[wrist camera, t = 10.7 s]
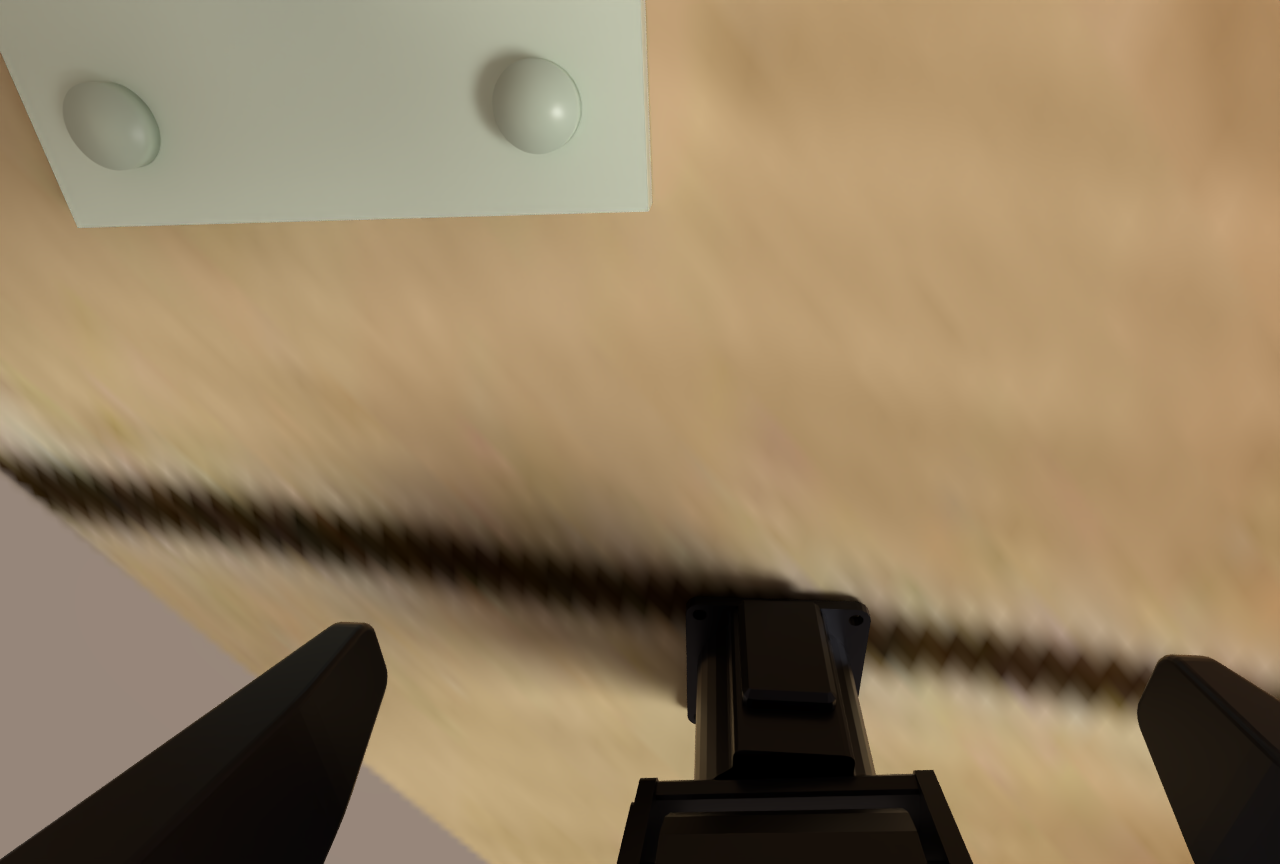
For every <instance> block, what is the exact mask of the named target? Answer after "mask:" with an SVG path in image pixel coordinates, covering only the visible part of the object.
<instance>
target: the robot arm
mask: <svg viewBox="0 0 1280 864" xmlns="http://www.w3.org/2000/svg"><path fill="white" fill-rule="evenodd" d="M696 610H704V612H696ZM854 615H859V616H858V617H855V618H852V616H854ZM870 622H871V620H870V614H869V611H868V608H867V607H866V606H865V605H864V604H862V603H859V602H845V601H815V600H784V599H754V598H723V597H694V598H692V599H690V600H689V601H688V602H687V606H686V649H687V710H688V719H689V720H690V721H691V722H692V723H694V724H696V735H695V772H694V780H675V781H658V778H640V780H639V785H638V789H637V793H636V797H635V802H632V803H631V806H630V810H629V814H628V818H627V822H626V827H625V831H624V835H623V839H622V843H621V848H620V852H619V856H618V860H617V864H973V862H972V860H971V857H970V855H969V853H968V850H967V848H966V846H965V843H964V841H963V839H962V836H961V834H960V832H959V829H958V827H957V825H956V822H955V820H954V818H953V815H952V813H951V811H950V808H949V806H948V804H947V801H946V799H945V797H944V794H943V792H942V789H941V787H940V785H939V782H938V780H937V778H936V775H935V773H934V771H933V770H915V771H913V774H892V775H876V773H875V769H874V764H873V760H872V756H871V751H870V747H869V743H868V738H867V734H866V729H865V725H864V721H863V716H862V712H861V708H860V703H859V699H858V696H859V689H860V683H861V677H862V671H863V665H864V659H865V653H866V646H867V640H868V634H869V628H870ZM386 685H387V668H386V665H385V661H384V658H383V655H382V652H381V649H380V646H379V643H378V640H377V637H376V634H375V631H374V629H373V627H372V626H371V625H369V624H367V623H356V622H339V623H335V624H333V625H331V626H330V627H328V628H327V629H325V630H324V631H323V632H321V633H320V634H318V635H317V636H316V637H314V638H313V639H311V640H310V641H308V642H307V643H306V644H304V645H303V646H301V647H300V648H299V649H297V650H296V651H294V652H293V653H291V654H290V655H289V656H287V657H286V658H284V659H283V660H282V661H280V662H279V663H277V664H276V665H275V666H273V667H272V668H270V669H269V670H267V671H266V672H265V673H263V674H262V675H260V676H259V677H258V678H256V679H255V680H253V681H252V682H251V683H249V684H248V685H246V686H245V687H244V688H242V689H241V690H239V691H238V692H236V693H235V694H233V695H232V696H231V697H229V698H228V699H226V700H225V701H224V702H222V703H221V704H219V705H218V706H217V707H215V708H214V709H212V710H211V711H210V712H208V713H207V714H205V715H204V716H203V717H201V718H200V719H198V720H197V721H195V722H194V723H192V724H191V725H190V726H188V727H187V728H185V729H184V730H183V731H181V732H180V733H178V734H177V735H176V736H174V737H173V738H171V739H170V740H168V741H167V742H166V743H164V744H163V745H161V746H160V747H159V748H157V749H156V750H154V751H153V752H151V753H150V754H149V755H147V756H146V757H144V758H143V759H142V760H140V761H139V762H137V763H136V764H134V765H133V766H132V767H130V768H129V769H127V770H126V771H125V772H123V773H122V774H120V775H119V776H118V777H116V778H115V779H113V780H112V781H111V782H109V783H108V784H106V785H105V786H103V787H102V788H101V789H99V790H98V791H96V792H95V793H93V794H92V795H91V796H89V797H88V798H86V799H85V800H84V801H82V802H81V803H79V804H78V805H77V806H75V807H74V808H72V809H71V810H69V811H68V812H67V813H65V814H64V815H63V816H61V817H59V818H58V819H57V820H55V821H54V822H52V823H51V824H50V825H48V826H47V827H45V828H44V829H42V830H41V831H40V832H38V833H37V834H35V835H34V836H33V837H31V838H30V839H28V840H27V841H25V842H24V843H23V844H21V845H20V846H18V847H17V848H16V849H14V850H13V851H11V852H10V853H8V854H7V855H6V856H4V857H3V858H1V859H0V864H324V861H325V859H326V857H327V854H328V852H329V850H330V848H331V845H332V843H333V841H334V838H335V836H336V834H337V831H338V829H339V827H340V824H341V822H342V819H343V817H344V814H345V811H346V809H347V806H348V803H349V800H350V797H351V795H352V792H353V789H354V785H355V782H356V779H357V776H358V773H359V770H360V767H361V764H362V761H363V758H364V755H365V752H366V749H367V746H368V742H369V739H370V736H371V733H372V730H373V727H374V724H375V721H376V718H377V715H378V712H379V708H380V705H381V702H382V699H383V696H384V693H385V690H386ZM1137 716H1138V722H1139V726H1140V729H1141V732H1142V735H1143V737H1144V740H1145V742H1146V745H1147V747H1148V750H1149V752H1150V755H1151V757H1152V760H1153V762H1154V765H1155V767H1156V770H1157V772H1158V775H1159V777H1160V780H1161V782H1162V785H1163V787H1164V790H1165V792H1166V795H1167V797H1168V799H1169V802H1170V804H1171V807H1172V809H1173V812H1174V814H1175V817H1176V819H1177V822H1178V824H1179V827H1180V829H1181V832H1182V834H1183V837H1184V839H1185V842H1186V844H1187V847H1188V849H1189V852H1190V854H1191V856H1192V859H1193V861H1194V863H1195V864H1280V701H1279V700H1278V699H1276V698H1275V697H1273V696H1272V695H1270V694H1268V693H1267V692H1265V691H1264V690H1262V689H1260V688H1259V687H1257V686H1256V685H1254V684H1252V683H1251V682H1249V681H1248V680H1246V679H1245V678H1243V677H1241V676H1240V675H1238V674H1237V673H1235V672H1233V671H1232V670H1230V669H1229V668H1227V667H1226V666H1224V665H1222V664H1221V663H1219V662H1217V661H1216V660H1214V659H1212V658H1209V657H1205V656H1197V655H1171V654H1170V655H1165V656H1164V657H1162V658H1161V659H1160V660H1159V661H1158V662H1157V664H1156V666H1155V668H1154V670H1153V673H1152V675H1151V677H1150V679H1149V681H1148V683H1147V686H1146V688H1145V690H1144V692H1143V694H1142V696H1141V699H1140V701H1139V704H1138V710H1137Z"/></svg>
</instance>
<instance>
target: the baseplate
mask: <svg viewBox="0 0 1280 864" xmlns="http://www.w3.org/2000/svg"><path fill="white" fill-rule="evenodd" d="M0 52H1V54H2V57H3V59H4V61H5V64H6V66H7V68H8V70H9V73H10V75H11V77H12V79H13V82H14V84H15V86H16V89H17V91H18V93H19V95H20V98H21V100H22V102H23V104H24V107H25V109H26V111H27V114H28V116H29V118H30V120H31V123H32V125H33V127H34V129H35V132H36V134H37V136H38V139H39V141H40V143H41V145H42V148H43V150H44V152H45V154H46V157H47V159H48V161H49V164H50V166H51V168H52V170H53V173H54V175H55V177H56V179H57V182H58V184H59V186H60V189H61V191H62V193H63V195H64V198H65V200H66V202H67V204H68V207H69V209H70V211H71V214H72V216H73V218H74V220H75V223H76V225H77V227H78V228H92V227H127V226H161V225H196V224H231V223H265V222H300V221H335V220H369V219H404V218H439V217H473V216H508V215H543V214H577V213H612V212H647V211H649V209H650V207H651V205H652V180H651V151H650V123H649V94H648V66H647V37H646V9H645V0H0Z"/></svg>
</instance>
